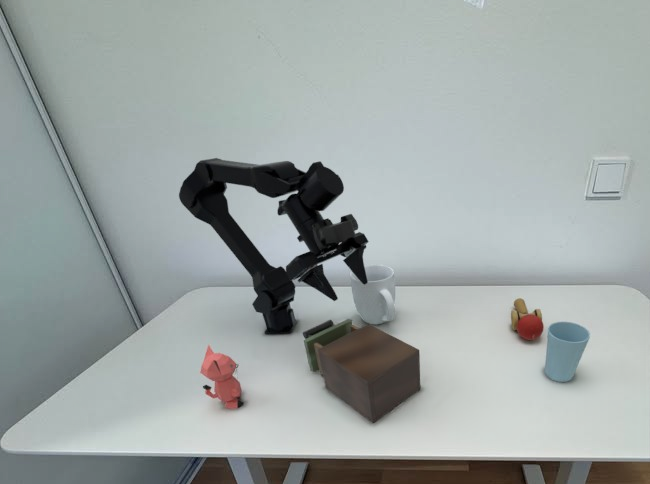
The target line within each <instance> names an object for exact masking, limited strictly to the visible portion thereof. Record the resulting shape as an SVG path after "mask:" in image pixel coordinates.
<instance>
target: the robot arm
mask: <svg viewBox="0 0 650 484" xmlns="http://www.w3.org/2000/svg"><path fill="white" fill-rule="evenodd" d="M227 184H230V185H235V186H236V185H237V186H244V187H249V188H253V189H254V190H255V191H256V192H257V193H258V194H260V195H263V196H265V197H268V198H271V199H275V198H279V197H283V196H286V195H288V197H286V199H281V200H278V207H277V215H278V216H284V215H286V216H287V217H288V218H289V220H290V222H291V223H292V226H293V227H294V228H295V230H296V231H297V233H298V234H299V235H298V236H297V237H296V239H297V240H298V242H299V243H303V242H304V244H305V245H306V247H307V249H308V250H309V251H307V252H304V253H302V254H299V255H296V256H295V257H294V258H293V259H292V260H290V262H289V263H288V264H286V266H285V268H284V267H283V266H281V265H280V266H278V267H276V266H273V265H271V264H270V263H269V262H268V260H267V259H266V258H265V257H264V256H263V254H262V253H261V252H260V251H259V249H258V248H257V247H256V245H255V244H254V243H253V241H251V239H250V237H248V235H247V234H246V233H245V231H244V230H243V229H242V228H241V226H240V225H239V224H238V222H237V221H236V220H235V219H234V217H233V216H232V215H231V213H230V209H229V203H228V199H227V197H226V195H225V193H226V191H227V189H228V185H227ZM344 190H345V187H344V182H343V181H342V178H341V177H340V175H339V174H337V173H336V172H335V171H334V170H333V169H331V168H329V167H327V166H324V164H323V163H322V161H315V162H312V164H310V166H309V168H308V169H307V171H304V170H301V169H299V168H297V167H296V166H295V163H293V162H292V161H289V160H283V161H277V162H269V163H263V164H257V163H248V162H240V161H232V160H225V159H221V158H218V157H214V158H208V159H202V160H199V161H198V162H196V164H195V166H194V169H193V171H192V172H191V173H189V175H188V176H187V177H186V178H185V179H184V180H183V182H182V184H181V186H180V189H179V191H178V192H179V193H178V198H179V201H180V203H181V204H182V206H184V208H185V209H187V211H188V212H189V213H190V214H191V215H192V216H193V217H194V218H196V219H198V220H200V221H202V222H204V223H205V224H208V225H209V226H210V227H211V228H212V229H213V230H214V232H215V233H216V234H217V235H218V237H219V238H220V239H221V240H222V241H223V243H224V244H225V245H226V247H227V248H228V249H229V250H230V251H231V253H232V254H233V255H234V257H235V258H236V259H237V260H238V261H239V263H240V264H241V265H242V266H243V268H244V269H245V270H246V272H248V274H249V275H250V276H251V279H252V286H253V291H254V292H255V294H256V298H255V299H254V301H253V302H252V307H253V309H254V311H255V312H256V313H258V314H262V318H263V321H264V324H265V328H266V329H264V334H265V335H270V334H271V335H277V334H279V335H280V334H290V333H292V331H293V329H294V327H295V325H296V324H297V319H296V315H295V311H294V309H293V308H291V302H294V301H295V295H296V284H295V283H294V281H295V280H297V282H298V283H304V284H306V285H308V286H309V287H312V288H313V289H315V290H317V291H318V292H320V293H321V294H322V295H324V296H326V297H327V298H328V299H330V300H332V301H333V302H336V301H338V299H339V298H338V295H337V293H336V291H335V289H334V288H333V286H332V285H331V283H330V282H329V280H328V278H327V277H326V275H325V272H324V271H325V270H324V264H323V263H325V262H327V261H329V260H331V259H334V258H335V257H338V256H341V257H343V258H344V259H343V263H345V265H346V266H347V267H348V268H349V270H350V272H351V271H352V272H353V273H354V274H355V275H356V277H357V278H358V279H359V280H360V281H361V282H362V283H363V284H364V285H365V284H367V283H368V281H367V276H366V272H365V267H364V265H365V264H364V252H365V250H366V249H367V244H368V243H369V240H368V238H367V236H366V235H365V233H363V232H361V231H358V232H357V233H356V231H357V230H358V229H359V224H358V221H357V219H356V218H355V216H354V215H353V213H349V214H346V215H342V216H340V222H339V221H338V222H336V223H333V221H332V220H331V219H329V218H324V217H323V215H322V214H321V212H324V211H326V209H327V208H329V207H330V205H332V204H333V203H334V202H335V201H336V200H337V199H338V198H339V197H340V196H341V195H342V194H343V193H344ZM296 192H297V193H296Z"/></svg>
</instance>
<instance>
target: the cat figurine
mask: <svg viewBox="0 0 650 484" xmlns="http://www.w3.org/2000/svg"><path fill="white" fill-rule="evenodd" d="M238 367H239V363H237V362H235V360H234V359H233V358H232V357H230V356H228V355H227V354H224V353H221V352H216V353H215V352H214V351H213V350H212V348H211V346H210V344H207V348H206V351H205V355H204V358H203V361H202V364H201V367H200V372H199V373H200V374H202V376H204V377H205V378H207V379H209V380H210V381H211V382H214V392H212V391H211V390H212V389H213V387H212V386H210V385H208V384H205V385H203V386H202V388H203V389H204V393H205V395H207V396H208V397H210V398H212V399H218V400H220V401H221V402H222V403H224V404H225V406H224V409H228V410H234V409H235V410H236V409H237V410H238V409H240V408H241V407H242V406H244V401H242V400H240V399H238V398H239V397H241V395H242V386H241V381H239V380H238V378H236V377H235V375H236V374H239V373H238V372H239V371H238Z"/></svg>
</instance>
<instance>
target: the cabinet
mask: <svg viewBox="0 0 650 484" xmlns="http://www.w3.org/2000/svg"><path fill="white" fill-rule="evenodd" d="M318 352H319V357H320V362H321V367H322V372H323V375H322V376H323V380H324V385H325V386H324V387H325V389H326V390H328V391H329V392H331V393H332V394H333V395H335V396H336V397H337V398H338V399H340V400H341V401H342V402H344V404H346V405H347V406H349V407H350V408H352V409H353V410H354V411H356V412H357V413H358V414H360V415H361V416H363V418H365V419H366V420H368V421H369V422H371V423H372V424H374V423H375V422H377V421H378V420H380V419H381V418H383V417H384V416H386V415H387V414H388V413H390V412H391V411H393V410H394V409H395V408H396V407H398V406H399V405H401V404H402V403H403V402H405V401H406V400H408V399H409V398H410V397H412V396H413V395H414V394H416V393H417V392H419V391H420V390H421V361H420V360H421V359H420V357H421V356H420V355H421V354H420V349H419V348H416V347H415V346H413V345H411V344H409V343H407V342H405V341H403V340H401V339H399V338H397V337H395V336H393V335H392V334H390V333H388V332H386V331H384V330H382V329H380V328H378V327H376V326H374V325H373V324H368V323H366V324H365V325H363V326H361V327H359V329H357V330H355V331H353V332H351V333H349V334H347V335H345V336H343V337H341V338H339V339H337V340H335V341H333V342H331V343H329V344H327V345H325V346H323V347H321V348H319V349H318Z"/></svg>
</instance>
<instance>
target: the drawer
mask: <svg viewBox="0 0 650 484" xmlns="http://www.w3.org/2000/svg"><path fill="white" fill-rule="evenodd" d="M359 328H360V327H359V326H357V325H355V324H353V320H352V319H350V318H346V319H345V320H343V321H341V322H338V323H336V324H335V323H334V321H333V320H332V319H329V320H326V321H325V322H322V323H320V324H318V325H316V326H313V327H311V328H309V329H307V330H305V331H303V332H302V337H303V345H304V349H305V353H306V357H307V362H308V364H309V371H310V372H312V373H316V372H318V371H319V374H321V375H322V376H323V372H322V367H321V362H320V357H319V352H318V349H319V348H321V347H323V346H325V345H327V344H329V343H331V342H333V341H335V340H337V339H339V338H341V337H343V336H345V335H347V334H349V333H351V332H353V331H355V330H357V329H359Z"/></svg>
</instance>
